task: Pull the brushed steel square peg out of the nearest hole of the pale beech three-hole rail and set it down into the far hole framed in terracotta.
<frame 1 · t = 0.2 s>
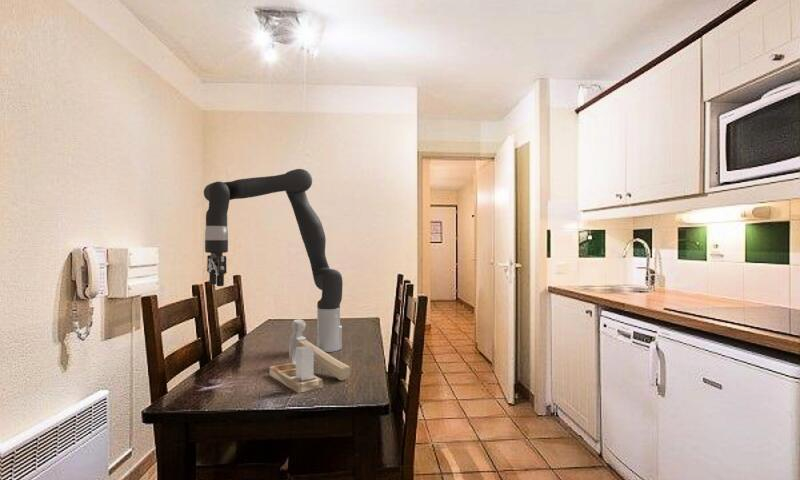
hand: (216, 285, 158), 29 cm above the table, tool pointing down, fingers open, 8 cm apart
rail: (294, 381, 144), on the table
steel peg: (304, 386, 138), resting in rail
hammer: (317, 372, 155), on the table
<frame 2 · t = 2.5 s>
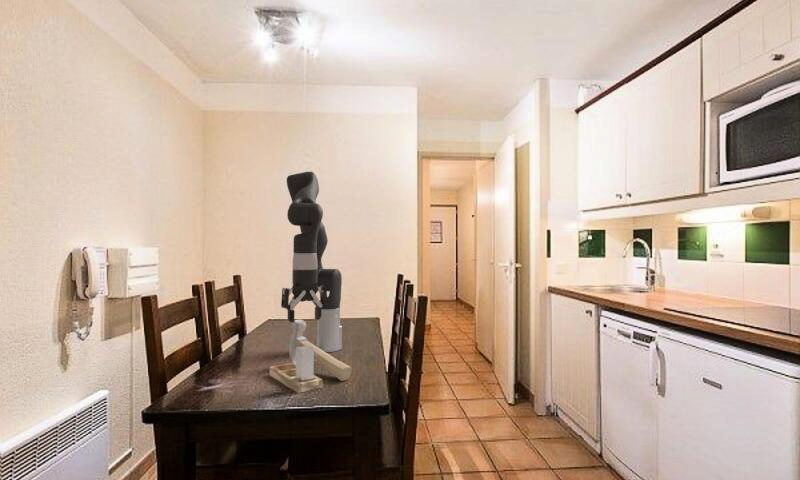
hand: (304, 320, 138), 20 cm above the table, tool pointing down, fingers open, 8 cm apart
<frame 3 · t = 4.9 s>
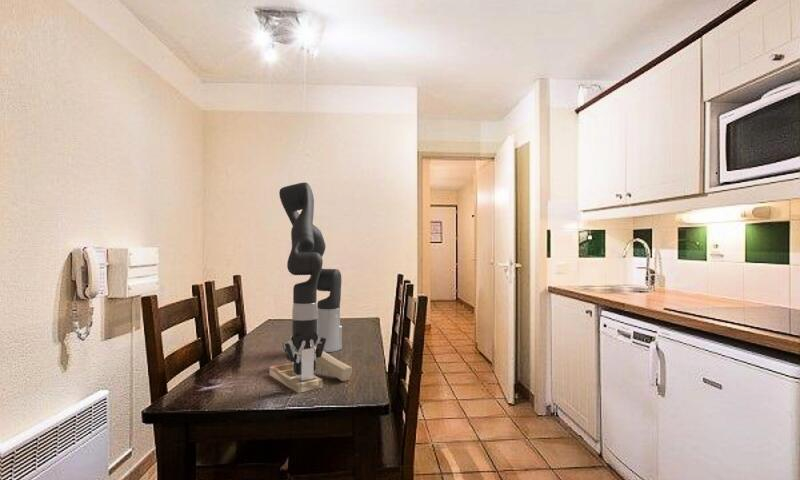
hand: (304, 372, 138), 4 cm above the table, tool pointing down, fingers closed on steel peg, 4 cm apart
steel peg: (304, 386, 138), resting in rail, touching gripper
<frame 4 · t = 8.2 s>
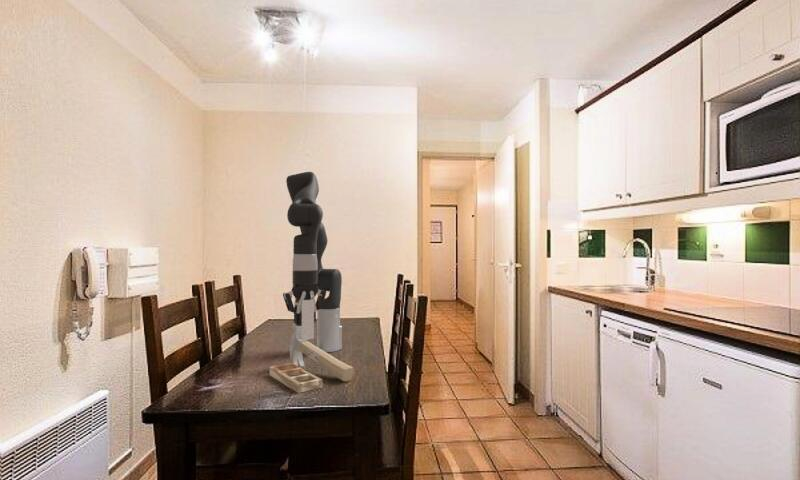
hand: (304, 324, 138), 19 cm above the table, tool pointing down, fingers closed on steel peg, 4 cm apart
steel peg: (304, 338, 138), point 15 cm above the table, touching gripper
when the fingers open (6 cm above the table, at t = 11.9 s): steel peg drops 1 cm, resting in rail.
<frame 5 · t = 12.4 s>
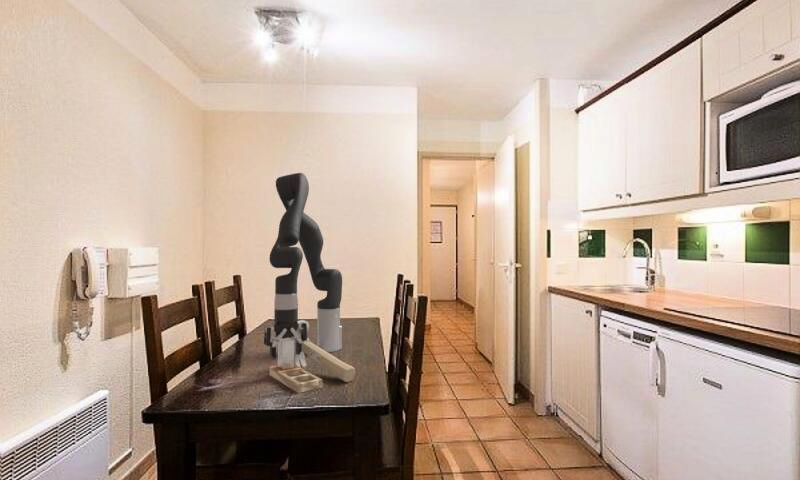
hand: (285, 356, 149), 7 cm above the table, tool pointing down, fingers open, 8 cm apart
steel peg: (285, 376, 149), resting in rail
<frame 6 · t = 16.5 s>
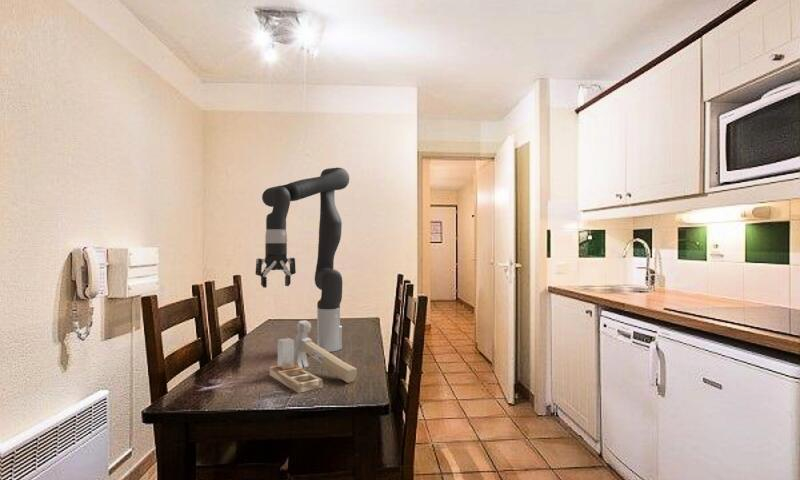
hand: (275, 286, 164), 28 cm above the table, tool pointing down, fingers open, 8 cm apart
at the end: steel peg 0.1 cm from the target spot on the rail, point 0.0 cm above the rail's base; steel peg tilted 0°; the gripper is holding nothing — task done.
